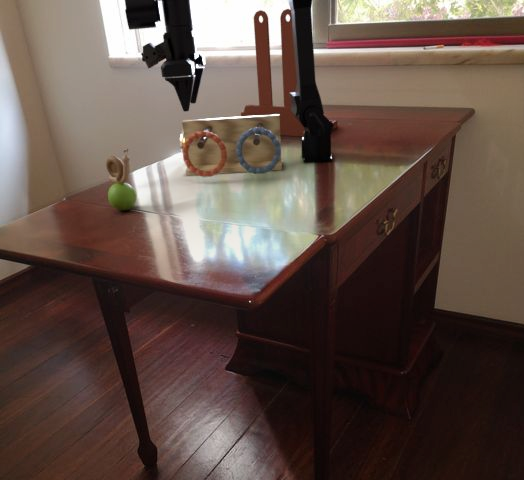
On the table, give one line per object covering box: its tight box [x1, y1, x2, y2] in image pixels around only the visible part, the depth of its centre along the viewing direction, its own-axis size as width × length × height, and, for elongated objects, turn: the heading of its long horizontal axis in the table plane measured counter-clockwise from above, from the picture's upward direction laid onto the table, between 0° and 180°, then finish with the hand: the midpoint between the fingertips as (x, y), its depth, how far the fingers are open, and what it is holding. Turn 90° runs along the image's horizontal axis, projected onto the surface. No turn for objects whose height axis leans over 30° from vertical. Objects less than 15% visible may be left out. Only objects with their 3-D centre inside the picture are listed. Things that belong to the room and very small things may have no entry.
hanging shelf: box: [240, 8, 338, 137], centre depth 152 cm, size 24×13×30 cm, turn 58°
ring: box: [179, 129, 185, 155], centre depth 137 cm, size 7×3×8 cm, turn 143°
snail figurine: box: [105, 148, 137, 212], centre depth 107 cm, size 5×6×12 cm
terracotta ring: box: [181, 131, 227, 178], centre depth 118 cm, size 9×1×9 cm, turn 88°
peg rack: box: [181, 114, 283, 176], centre depth 122 cm, size 22×17×11 cm
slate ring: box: [236, 128, 282, 175], centre depth 117 cm, size 9×1×9 cm, turn 88°
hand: (189, 107), depth 122 cm, fingers open, 9 cm apart
